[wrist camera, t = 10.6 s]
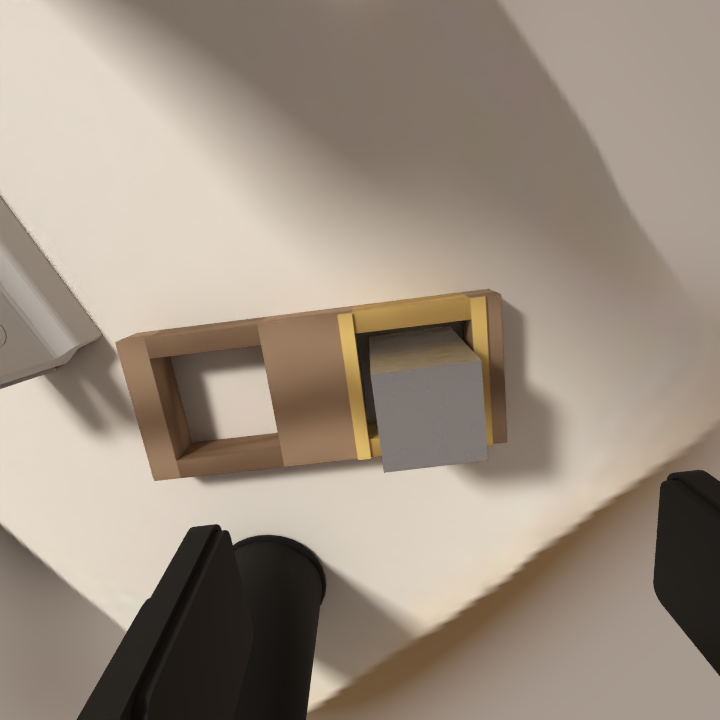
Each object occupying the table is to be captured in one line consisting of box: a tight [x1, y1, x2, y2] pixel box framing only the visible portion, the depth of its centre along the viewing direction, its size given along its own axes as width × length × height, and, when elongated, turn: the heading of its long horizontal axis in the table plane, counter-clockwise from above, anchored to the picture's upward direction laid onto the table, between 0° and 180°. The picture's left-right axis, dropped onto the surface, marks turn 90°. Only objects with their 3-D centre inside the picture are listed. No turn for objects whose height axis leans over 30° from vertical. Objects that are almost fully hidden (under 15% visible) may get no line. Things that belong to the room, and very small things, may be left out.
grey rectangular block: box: [369, 326, 488, 473], centre depth 24 cm, size 5×5×8 cm
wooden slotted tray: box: [115, 289, 507, 481], centre depth 27 cm, size 9×22×3 cm, turn 97°
